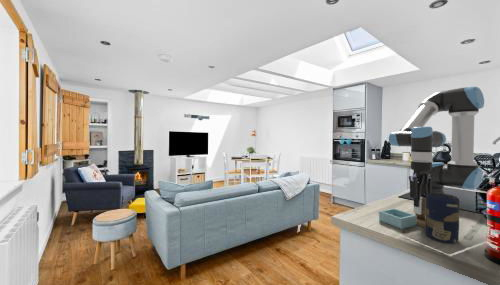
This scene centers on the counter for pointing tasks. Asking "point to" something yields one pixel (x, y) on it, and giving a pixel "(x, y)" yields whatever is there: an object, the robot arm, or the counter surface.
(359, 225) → the counter surface
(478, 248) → the counter surface
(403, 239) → the counter surface
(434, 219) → the canister
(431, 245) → the counter surface
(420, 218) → the lid
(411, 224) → the dish
